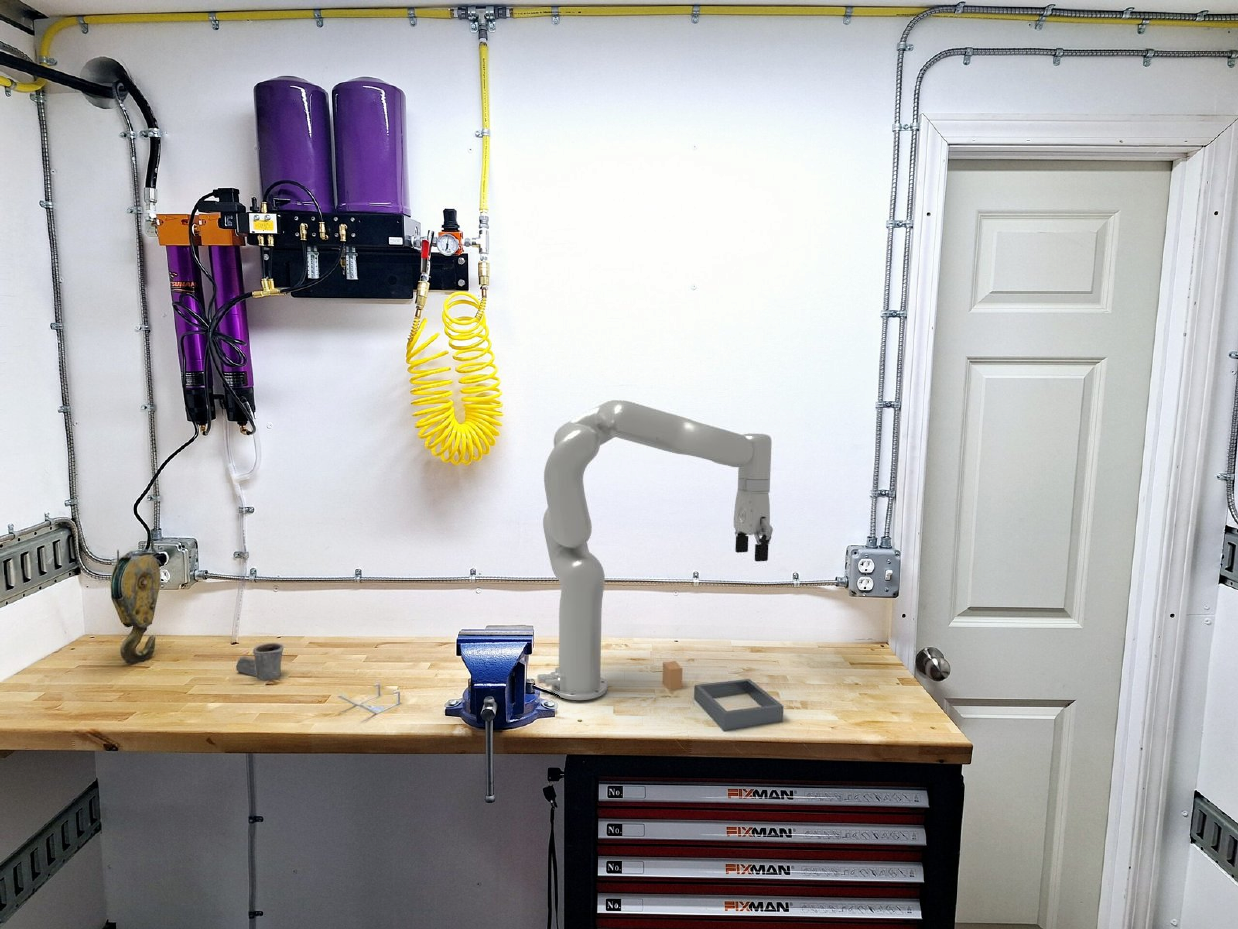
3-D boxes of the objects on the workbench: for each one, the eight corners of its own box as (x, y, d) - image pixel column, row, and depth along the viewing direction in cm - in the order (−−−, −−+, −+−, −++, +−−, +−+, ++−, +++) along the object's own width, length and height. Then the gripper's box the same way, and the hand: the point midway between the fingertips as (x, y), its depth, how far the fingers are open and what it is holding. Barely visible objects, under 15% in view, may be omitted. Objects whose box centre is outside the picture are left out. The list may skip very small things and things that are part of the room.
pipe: (250, 670, 177) (249, 638, 176) (292, 677, 173) (291, 645, 172) (229, 679, 171) (228, 646, 171) (272, 687, 167) (271, 653, 166)
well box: (723, 737, 147) (724, 713, 146) (693, 706, 161) (694, 685, 160) (782, 729, 151) (783, 706, 150) (748, 700, 165) (749, 678, 165)
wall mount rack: (408, 710, 157) (407, 689, 157) (366, 728, 148) (366, 706, 148) (372, 696, 164) (372, 676, 163) (330, 712, 155) (330, 692, 155)
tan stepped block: (669, 699, 165) (670, 669, 164) (662, 691, 169) (663, 662, 168) (705, 695, 168) (706, 665, 167) (697, 687, 172) (698, 658, 171)
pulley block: (147, 652, 187) (142, 538, 184) (169, 653, 187) (165, 538, 184) (107, 673, 173) (101, 549, 170) (131, 674, 173) (126, 550, 170)
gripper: (723, 481, 179) (721, 549, 181) (757, 490, 163) (754, 565, 165) (750, 481, 182) (748, 548, 183) (786, 490, 165) (783, 563, 167)
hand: (751, 556), depth 174 cm, fingers open, 9 cm apart
